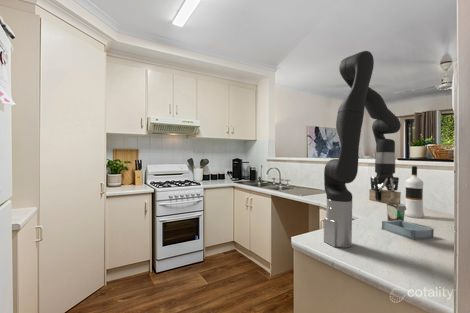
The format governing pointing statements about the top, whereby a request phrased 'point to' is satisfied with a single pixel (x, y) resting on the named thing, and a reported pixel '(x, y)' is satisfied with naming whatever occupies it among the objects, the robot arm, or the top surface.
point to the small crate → (386, 196)
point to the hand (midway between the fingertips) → (384, 200)
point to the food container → (395, 212)
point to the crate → (408, 229)
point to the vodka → (414, 196)
